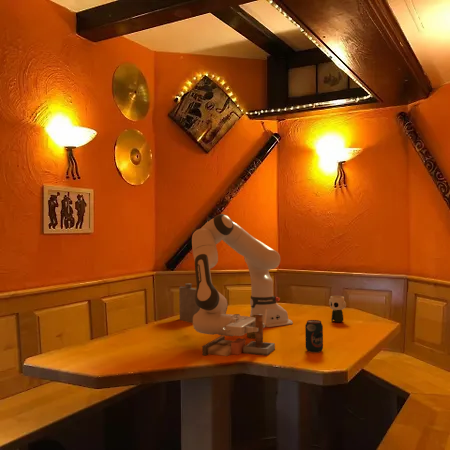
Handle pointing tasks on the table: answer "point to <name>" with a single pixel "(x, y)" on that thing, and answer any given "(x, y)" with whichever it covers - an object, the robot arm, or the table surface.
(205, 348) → the clamp bar
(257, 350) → the tray
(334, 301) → the bear figurine
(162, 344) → the table surface
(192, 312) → the hip flask
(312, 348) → the soda can
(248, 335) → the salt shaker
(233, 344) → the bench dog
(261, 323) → the dowel
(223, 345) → the bench plate
